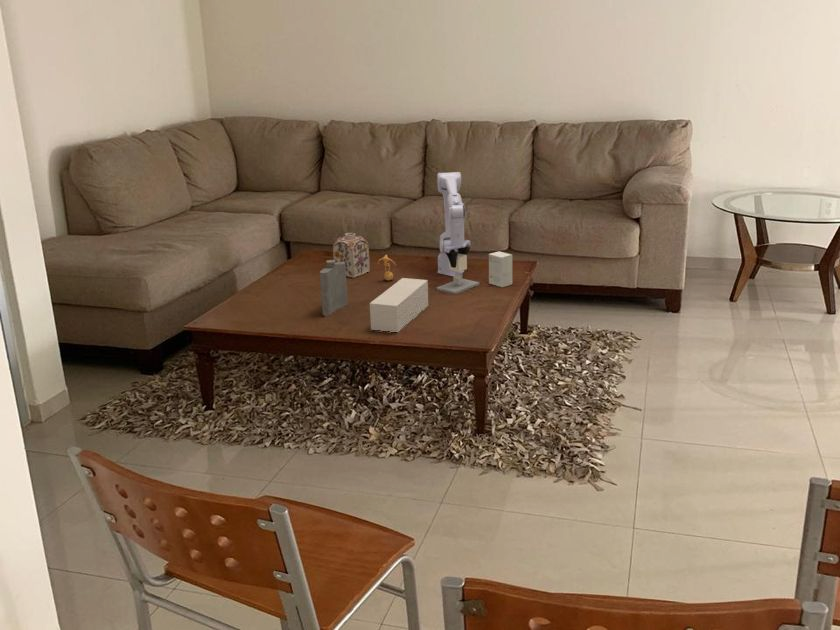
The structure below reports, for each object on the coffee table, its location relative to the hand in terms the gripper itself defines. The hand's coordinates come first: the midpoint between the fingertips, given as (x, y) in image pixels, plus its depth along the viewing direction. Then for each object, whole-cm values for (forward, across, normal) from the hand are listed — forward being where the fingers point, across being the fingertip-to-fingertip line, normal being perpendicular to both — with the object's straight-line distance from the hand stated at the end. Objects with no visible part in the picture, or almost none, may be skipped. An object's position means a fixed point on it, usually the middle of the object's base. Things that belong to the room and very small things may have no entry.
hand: (457, 265), depth 367 cm
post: (+9, 0, 0) cm, 9 cm away
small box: (+10, +14, -12) cm, 21 cm away
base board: (+9, 0, 0) cm, 9 cm away
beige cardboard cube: (+2, 0, 0) cm, 2 cm away
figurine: (+10, -11, +30) cm, 33 cm away
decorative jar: (+10, -12, +51) cm, 53 cm away
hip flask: (+10, -51, +21) cm, 56 cm away
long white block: (+10, -42, -6) cm, 44 cm away
